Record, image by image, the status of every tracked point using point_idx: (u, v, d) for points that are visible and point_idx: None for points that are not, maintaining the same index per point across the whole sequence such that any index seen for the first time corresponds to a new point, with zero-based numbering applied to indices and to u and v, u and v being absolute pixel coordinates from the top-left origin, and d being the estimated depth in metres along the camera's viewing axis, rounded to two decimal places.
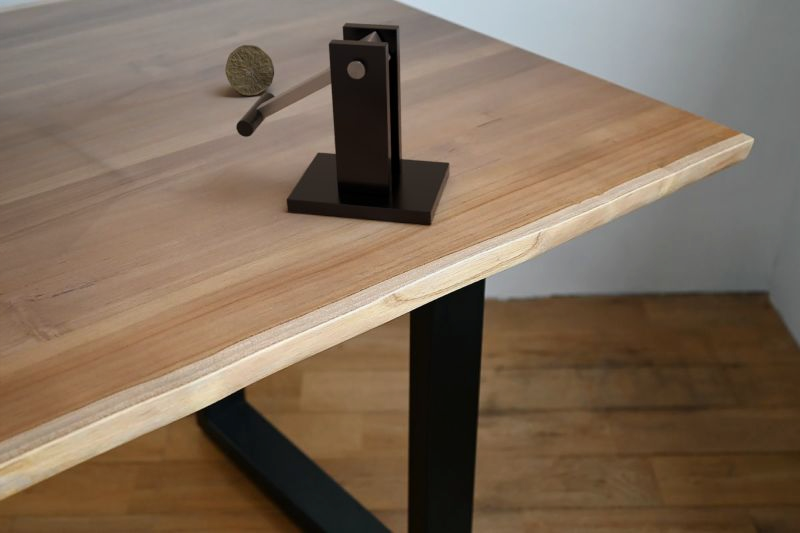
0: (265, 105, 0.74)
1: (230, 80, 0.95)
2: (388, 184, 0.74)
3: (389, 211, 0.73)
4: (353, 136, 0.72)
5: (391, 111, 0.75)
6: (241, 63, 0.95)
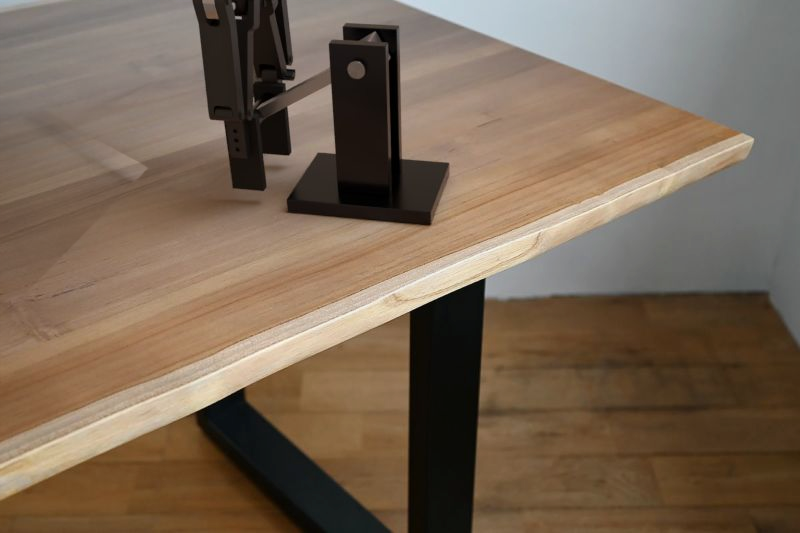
0: (265, 105, 0.74)
1: None
2: (388, 184, 0.74)
3: (389, 211, 0.73)
4: (353, 136, 0.72)
5: (391, 111, 0.75)
6: None
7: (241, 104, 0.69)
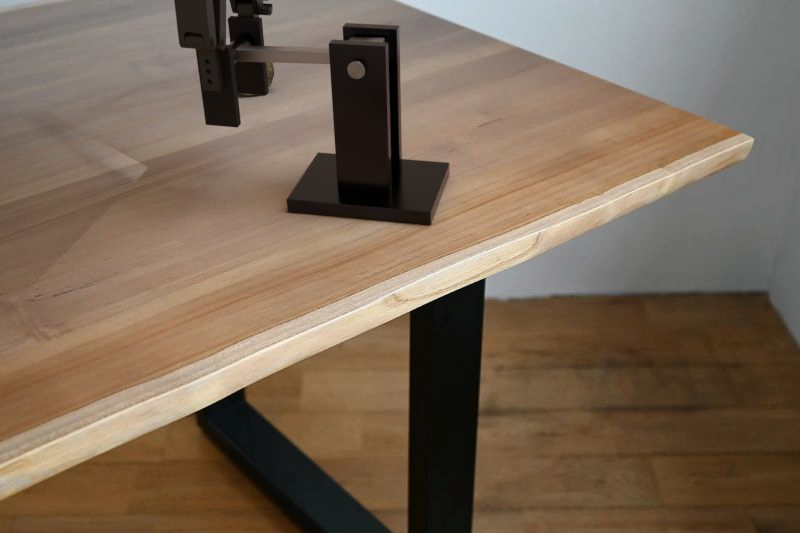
0: (246, 51, 0.72)
1: None
2: (388, 184, 0.74)
3: (389, 211, 0.73)
4: (353, 136, 0.72)
5: (391, 111, 0.75)
6: None
7: (213, 31, 0.66)
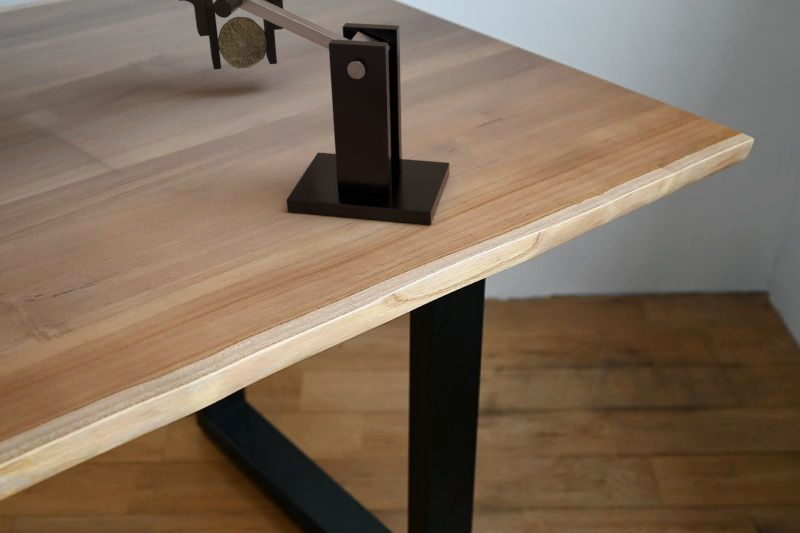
0: (252, 1, 0.70)
1: (222, 52, 0.93)
2: (388, 184, 0.74)
3: (389, 211, 0.73)
4: (353, 136, 0.72)
5: (391, 111, 0.75)
6: (233, 35, 0.93)
7: None
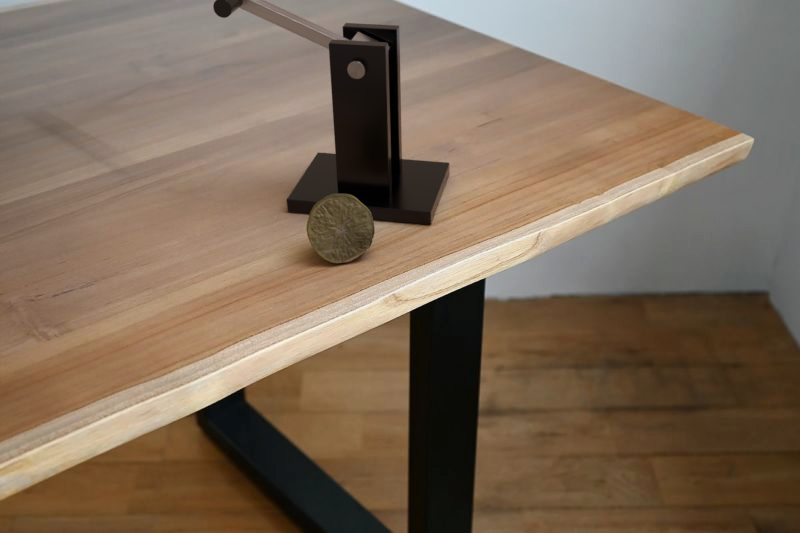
0: (252, 1, 0.70)
1: (313, 243, 0.67)
2: (388, 184, 0.74)
3: (389, 211, 0.73)
4: (353, 136, 0.72)
5: (391, 111, 0.75)
6: (328, 220, 0.67)
7: None
